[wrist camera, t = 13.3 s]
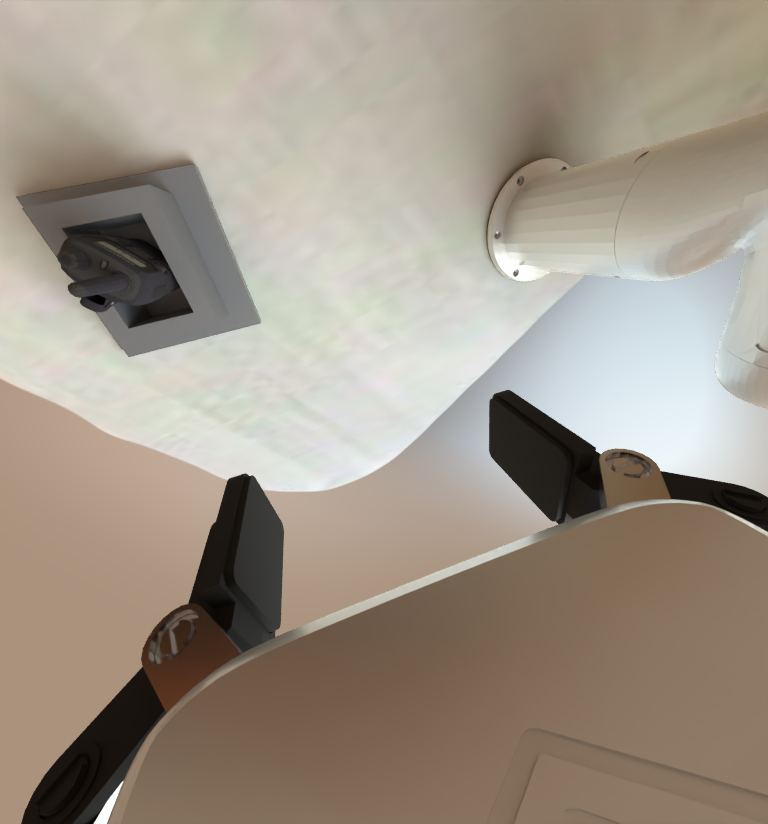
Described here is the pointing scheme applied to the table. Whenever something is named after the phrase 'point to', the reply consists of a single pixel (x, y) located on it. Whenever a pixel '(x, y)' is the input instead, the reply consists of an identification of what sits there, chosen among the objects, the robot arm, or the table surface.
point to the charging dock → (165, 230)
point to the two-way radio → (115, 271)
